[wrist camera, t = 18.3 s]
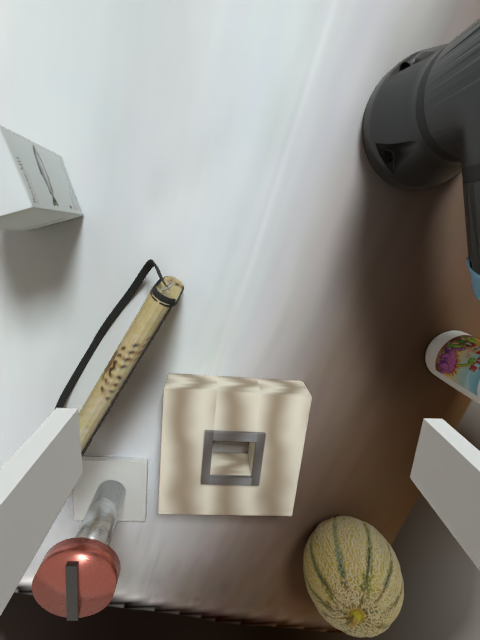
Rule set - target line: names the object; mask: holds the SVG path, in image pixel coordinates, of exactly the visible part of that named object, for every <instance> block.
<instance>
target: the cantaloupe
mask: <svg viewBox="0 0 480 640" xmlns="http://www.w3.org/2000/svg"><path fill="white" fill-rule="evenodd" d="M303 566H304V567H303V571H304V577H305V583H306V588H307V590H308V593H309V595H310V597H311V599H312V601H313V602H314V604H315V606H316V608H317V610H318V611H319V613H320V614H321V615H322V616H323V617H324V619H325V620H326V621H327V622H329V623H330V624H331V625H332V626H333V627H335V628H337V629H339V630H341V631H343V632H345V633H346V634H348V635H351V636H355V637H373V636H377V635H378V634H380V633H382V632H384V631H385V630H386V629H388V628H389V626H390V624H391V623H392V622H393V621H394V620H395V619H396V617H397V616H398V614H399V612H400V609H401V607H402V604H403V599H404V588H403V578H402V574H401V570H400V565H399V563H398V560H397V557H396V555H395V553H394V551H393V549H392V547H391V546H390V544H389V543H388V542H387V540H386V539H385V538H384V537H383V536H382V535H381V534H380V533H379V532H378V531H377V530H376V529H375V528H374V527H373V526H372V525H370V524H368V523H367V522H364V521H361V520H359V519H356V518H353V517H350V516H337V517H332V518H330V519H327V520H325V521H323V522H321V523H320V524H319V525H318V526H317V527H316V529H315V530H314V531H313V533H312V534H311V535H310V537H309V539H308V541H307V544H306V546H305V549H304V555H303Z"/></svg>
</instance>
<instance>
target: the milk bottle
mask: <svg viewBox="0 0 480 640" xmlns="http://www.w3.org/2000/svg"><path fill="white" fill-rule="evenodd" d="M425 361H426V365H427V367H428V369H429V370H430V372H431V373H432V374H434V375H435V376H437V377H438V378H439V379H441V380H443V381H444V382H446V383H447V384H449V385H450V386H452V387H453V388H455V389H456V390H458V391H459V392H461V393H463V394H464V395H466V396H467V397H469V398H470V399H472V400H474V401H475V402H477V403H478V404H480V338H477V337H475V336H472V335H470V334H467V333H464V332H461V331H447V332H444V333H442V334H440V335H438V336H436V337H435V338H434V339H433V340H432V341H431V343H430V344H429V346H428V347H427V350H426V355H425Z"/></svg>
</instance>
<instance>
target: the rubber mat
mask: <svg viewBox="0 0 480 640" xmlns="http://www.w3.org/2000/svg"><path fill="white" fill-rule="evenodd" d="M82 468H83V473H82V474H81V476H80V478H79V480H78V481H77V483H76V485H75V487H74V488H73V507H74V520H83V519H84V517H85V514H86V512H87V510H88V508H89V505H90V503H91V501H92V499H93V497H94V494H95V492H96V490H97V488H98V486H99V485H100V484H101V483H102V482H104V481H107V480H115V481H118V482H120V483H121V484H123V486H124V487H125V489H126V495H125V498H124V501H123V504H122V507H121V510H120V513H119V516H118V519H117V521H145V520H146V511H147V481H148V458H122V457H91V456H82Z"/></svg>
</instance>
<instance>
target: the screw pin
mask: <svg viewBox="0 0 480 640" xmlns="http://www.w3.org/2000/svg"><path fill="white" fill-rule="evenodd" d="M125 495H126V489H125V487H124V486H123V484H121V483H120V482H118V481H115V480H107V481H104V482H102V483H101V484H100V485H99V486H98V488H97V490H96V492H95V494H94V497H93V499H92V501H91V503H90V505H89V508H88V510H87V512H86V514H85V517H84V519H83V521H82V523H81V526H80V528H79V530H78V532H77V534H76V537H75V538H71V539H66V540H64V541H61V542H59V543H57V544H56V545H54V546H53V547H52V548H51V549H50V550H49V551H48V552H47V554H46V555H45V557H44V559H43V561H42V563H41V565H40V567H39V569H38V571H37V573H36V575H35V577H34V579H33V582H32V593H33V595H34V598H35V600H36V601H37V602H38V603H39V605H41V607H43V608H44V609H45V610H47V611H49V612H50V613H53V614H55V615H58V616H62V617H67V621H68V620H69V621H71V620H73V621H74V620H75V621H76V620H78V618H79V617H86V616H90V615H93V614H95V613H97V612H99V611H101V610H102V609H104V608H105V607H106V606H107V605H108V604H109V603H110V601H111V600H112V598H113V595H114V592H115V588H116V584H117V581H118V577H119V573H120V561H119V558H118V556H117V554H116V553H115V552H114V550H113V549H112V548H110V547H109V543H110V540H111V537H112V534H113V531H114V528H115V525H116V522H117V519H118V516H119V513H120V510H121V507H122V504H123V501H124V498H125Z"/></svg>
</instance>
